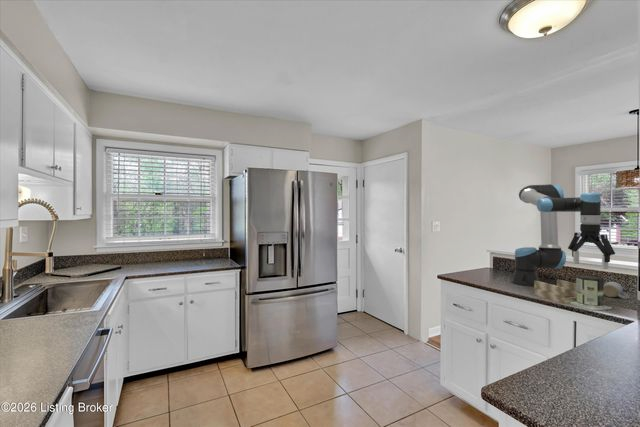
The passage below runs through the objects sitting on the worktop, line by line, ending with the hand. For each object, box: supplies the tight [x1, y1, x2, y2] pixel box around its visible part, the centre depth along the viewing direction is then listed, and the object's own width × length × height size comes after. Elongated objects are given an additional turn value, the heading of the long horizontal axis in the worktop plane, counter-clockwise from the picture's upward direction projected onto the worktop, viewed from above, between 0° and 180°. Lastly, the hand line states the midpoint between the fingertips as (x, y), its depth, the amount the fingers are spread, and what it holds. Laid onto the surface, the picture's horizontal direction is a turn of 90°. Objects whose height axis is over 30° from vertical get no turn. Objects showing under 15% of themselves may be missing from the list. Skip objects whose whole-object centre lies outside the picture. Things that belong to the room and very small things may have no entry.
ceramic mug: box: [603, 281, 630, 300], centre depth 165 cm, size 11×8×8 cm
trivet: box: [569, 302, 613, 311], centre depth 150 cm, size 11×11×1 cm
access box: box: [533, 278, 577, 305], centre depth 164 cm, size 17×16×8 cm
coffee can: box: [575, 273, 605, 308], centre depth 150 cm, size 10×10×14 cm
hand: (589, 266), depth 150 cm, fingers open, 13 cm apart
